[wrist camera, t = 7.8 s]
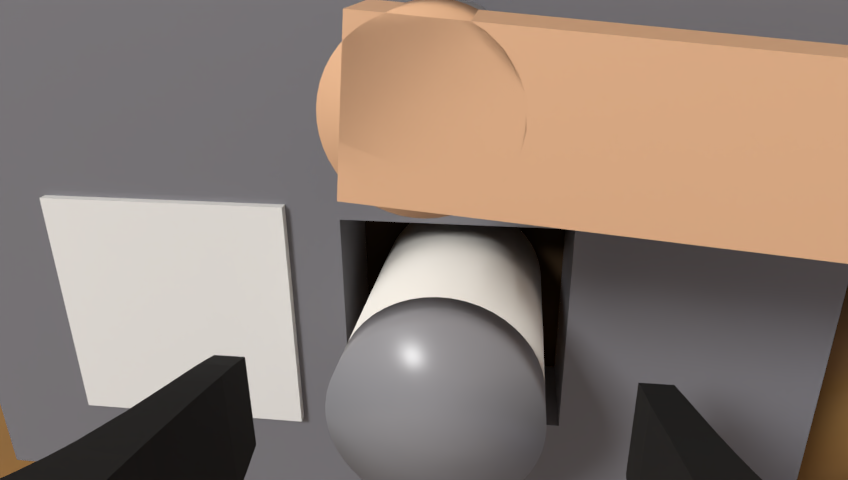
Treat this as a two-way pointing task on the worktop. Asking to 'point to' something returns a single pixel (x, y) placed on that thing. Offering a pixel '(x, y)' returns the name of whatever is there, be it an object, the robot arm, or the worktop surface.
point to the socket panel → (334, 242)
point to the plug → (445, 361)
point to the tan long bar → (590, 126)
